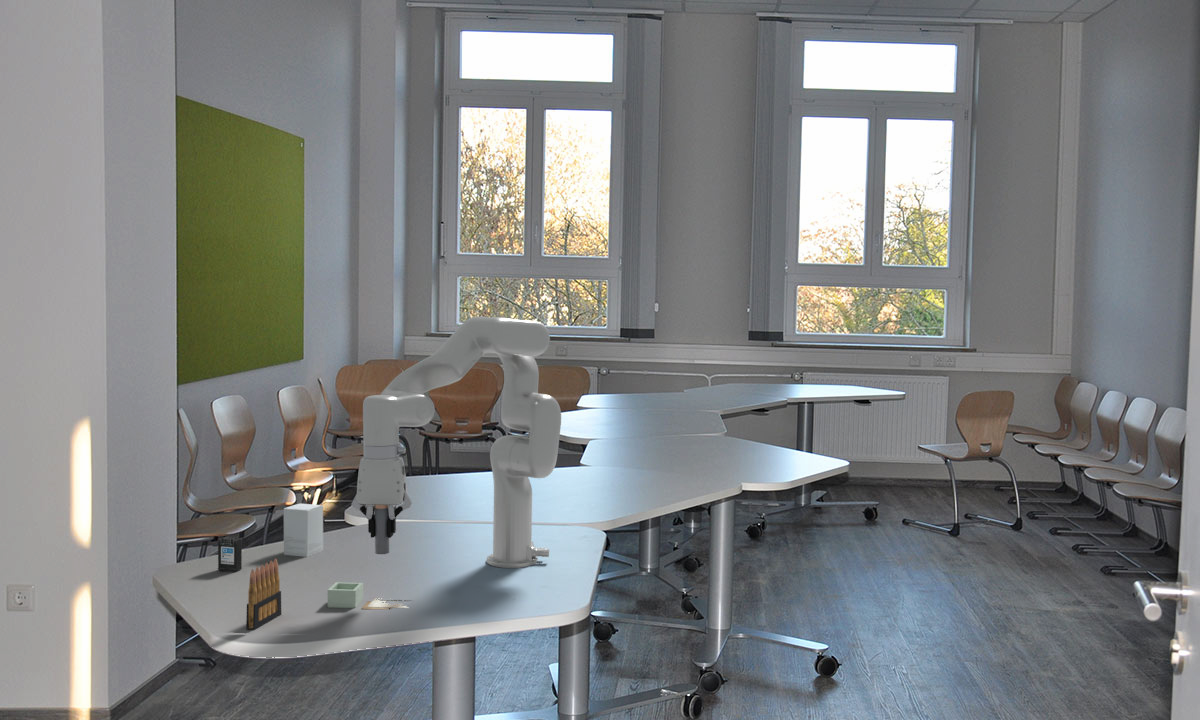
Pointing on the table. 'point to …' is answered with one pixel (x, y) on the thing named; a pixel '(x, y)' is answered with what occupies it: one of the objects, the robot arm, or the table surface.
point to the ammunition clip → (263, 596)
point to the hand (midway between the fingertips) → (382, 535)
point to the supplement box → (303, 529)
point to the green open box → (345, 595)
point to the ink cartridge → (230, 554)
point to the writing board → (382, 604)
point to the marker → (381, 529)
